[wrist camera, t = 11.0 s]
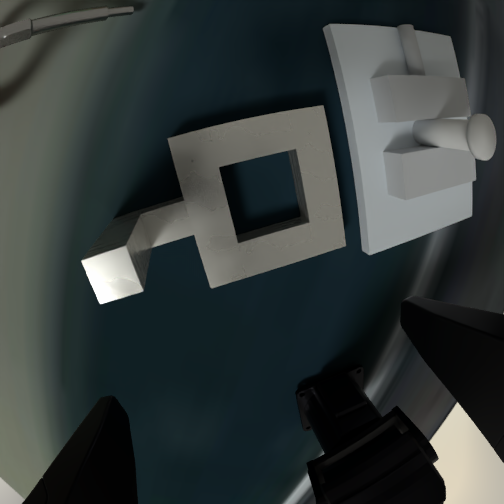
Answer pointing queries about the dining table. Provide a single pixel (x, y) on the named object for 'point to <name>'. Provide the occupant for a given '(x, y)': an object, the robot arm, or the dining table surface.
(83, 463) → the robot arm
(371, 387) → the dining table surface
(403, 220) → the plate with round-ended peg
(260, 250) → the square frame with handle
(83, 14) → the tow hook
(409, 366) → the dining table surface
